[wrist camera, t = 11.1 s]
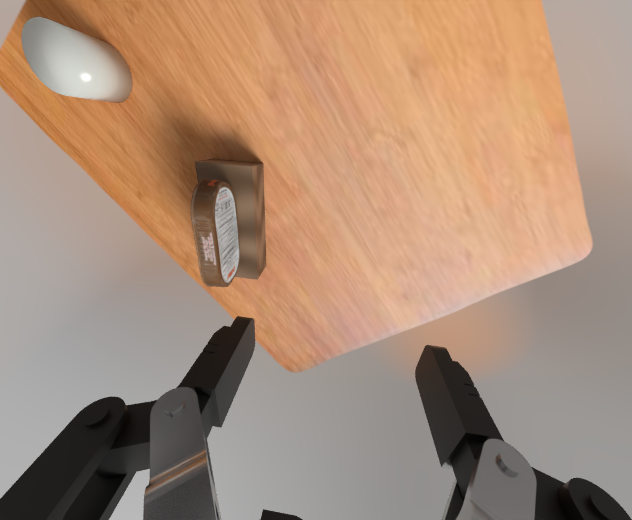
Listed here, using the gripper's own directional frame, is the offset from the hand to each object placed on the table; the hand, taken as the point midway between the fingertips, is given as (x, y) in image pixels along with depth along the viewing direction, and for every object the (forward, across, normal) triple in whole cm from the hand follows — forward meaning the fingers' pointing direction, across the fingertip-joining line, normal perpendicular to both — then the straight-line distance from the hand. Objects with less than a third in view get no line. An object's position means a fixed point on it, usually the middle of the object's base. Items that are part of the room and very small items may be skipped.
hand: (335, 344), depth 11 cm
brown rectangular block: (+30, +17, +5) cm, 34 cm away
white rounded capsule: (+30, +35, -14) cm, 48 cm away
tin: (+25, +16, +5) cm, 30 cm away
